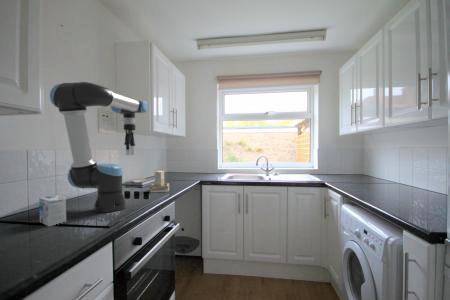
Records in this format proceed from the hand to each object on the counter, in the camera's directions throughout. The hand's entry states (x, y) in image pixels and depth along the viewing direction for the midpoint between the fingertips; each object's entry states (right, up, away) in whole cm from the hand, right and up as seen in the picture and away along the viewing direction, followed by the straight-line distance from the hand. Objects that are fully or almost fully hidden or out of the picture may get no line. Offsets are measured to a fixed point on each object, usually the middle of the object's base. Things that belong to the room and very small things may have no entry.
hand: (130, 154), depth 161 cm
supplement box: (+18, -25, +9) cm, 32 cm away
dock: (+18, -26, +9) cm, 33 cm away
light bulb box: (-9, -28, -61) cm, 67 cm away
